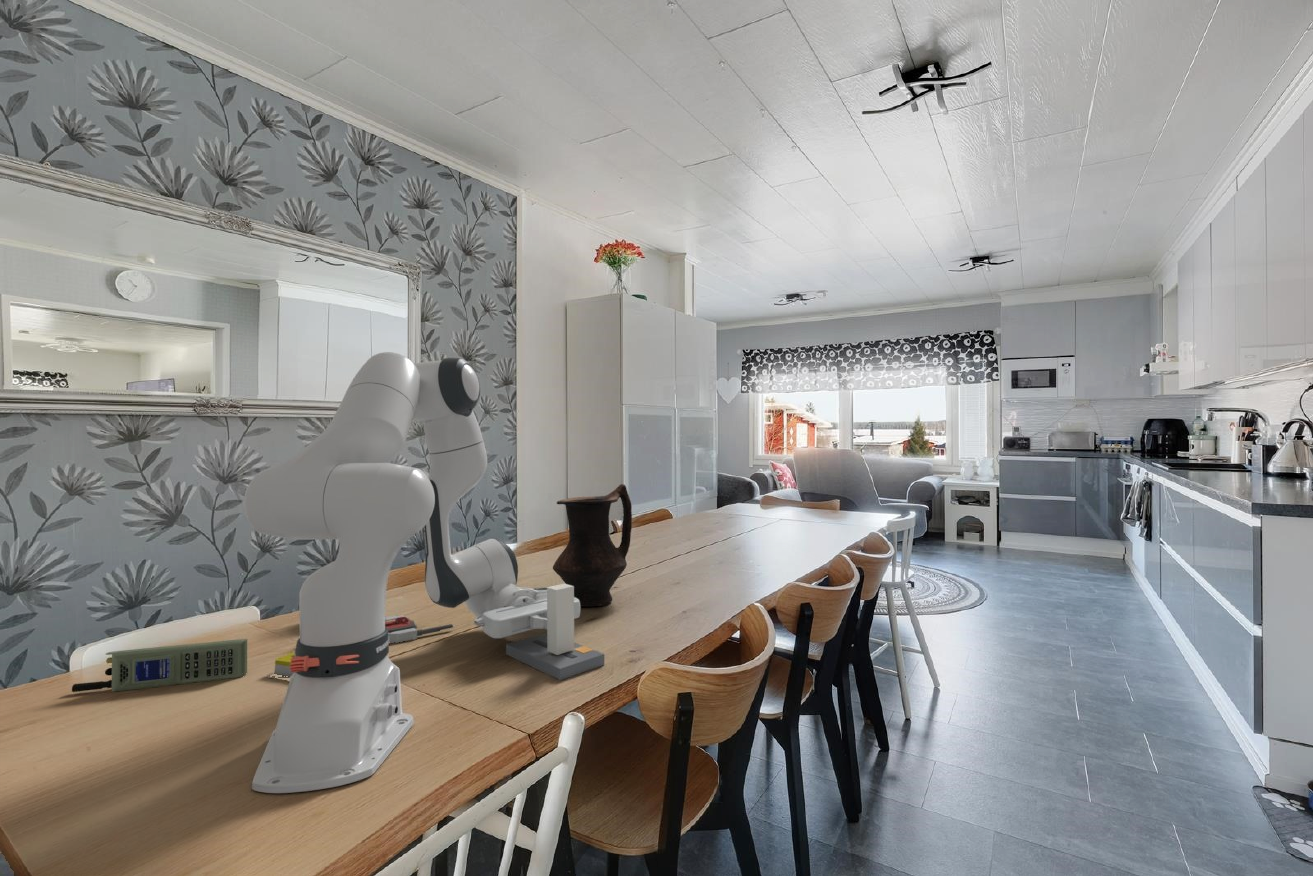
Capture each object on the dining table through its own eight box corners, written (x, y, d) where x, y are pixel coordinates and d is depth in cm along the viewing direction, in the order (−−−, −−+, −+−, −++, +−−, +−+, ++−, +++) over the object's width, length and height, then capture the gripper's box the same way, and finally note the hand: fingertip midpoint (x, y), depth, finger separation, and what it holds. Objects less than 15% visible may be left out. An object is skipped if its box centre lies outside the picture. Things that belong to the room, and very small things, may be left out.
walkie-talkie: (354, 654, 121) (454, 633, 133) (354, 631, 121) (454, 613, 133) (345, 642, 128) (441, 623, 140) (345, 621, 128) (441, 604, 140)
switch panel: (506, 654, 119) (506, 643, 119) (548, 641, 126) (548, 631, 126) (560, 680, 106) (560, 668, 106) (604, 664, 113) (604, 653, 113)
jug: (568, 618, 143) (567, 490, 143) (543, 599, 159) (542, 484, 159) (648, 605, 153) (647, 486, 153) (616, 589, 169) (615, 481, 169)
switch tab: (547, 651, 114) (546, 587, 114) (564, 645, 117) (564, 583, 117) (556, 655, 112) (556, 590, 112) (574, 649, 115) (573, 586, 115)
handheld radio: (242, 679, 108) (66, 699, 100) (248, 673, 112) (78, 692, 104) (243, 641, 109) (67, 658, 101) (248, 636, 112) (78, 653, 104)
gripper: (469, 604, 118) (507, 619, 108) (556, 585, 133) (596, 597, 123) (469, 636, 118) (507, 654, 108) (556, 614, 133) (596, 628, 123)
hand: (555, 624), depth 116 cm, fingers closed, pressing on switch tab
